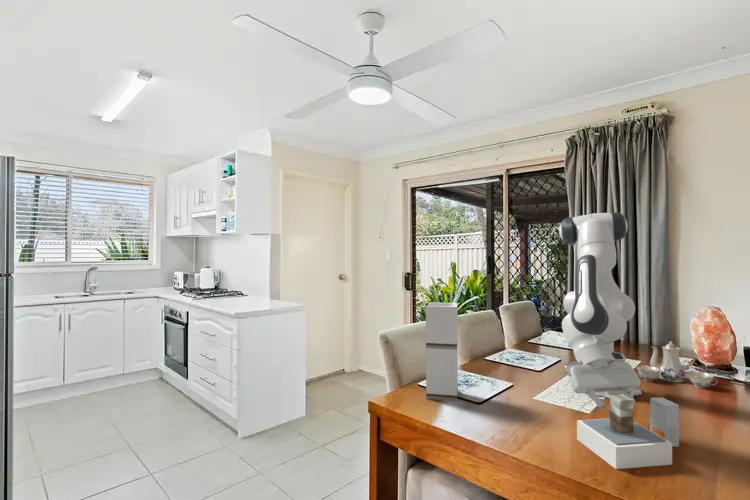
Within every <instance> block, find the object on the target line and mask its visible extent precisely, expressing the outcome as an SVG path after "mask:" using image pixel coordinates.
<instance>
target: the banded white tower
mask: <svg viewBox="0 0 750 500" xmlns="http://www.w3.org/2000/svg"><path fill="white" fill-rule="evenodd" d="M427 303H428V304H427V305H426V306H425V380H426V381H425V384H426V385H425V386H426V387H425V390H426V391H425V396H426V397H425V398H426V400H437V401H445V402H446V401H448V402H449V401H450V402H458V396H459V395H458V393H459V391H458V390H459V387H458V386H459V385H458V384H459V382H458V381H459V379H458V378H459V377H458V376H459V375H458V373H459V372H458V371H459V370H458V368H459V367H458V365H459V363H458V362H459V361H458V358H459V357H458V355H459V354H458V353H459V352H458V351H459V349H458V348H459V347H458V335H459V334H458V325H459V324H458V302H439V301H437V302H435V301H434V302H433V301H432V302H431V301H429V302H427ZM457 395H458V396H457Z"/></svg>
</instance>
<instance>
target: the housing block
mask: <svg viewBox="0 0 750 500" xmlns="http://www.w3.org/2000/svg"><path fill="white" fill-rule="evenodd" d="M634 400H635V399H634ZM634 400H633V399H631V398H629V397H627V396H625V395H610V398H609V418H610V427H611V428H612V429H614V430H616V431H617V432H619V433H634V422H635V421H634V420H635V419H634V418H635V417H634V408H635V407H634V406H635V404H634Z"/></svg>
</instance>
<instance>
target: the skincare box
mask: <svg viewBox="0 0 750 500" xmlns="http://www.w3.org/2000/svg"><path fill="white" fill-rule="evenodd" d="M649 400H650V401H649V405H650V407H649V408H650V410H649V411H650V412H649V415H650V416H649V430H650V431H651V432H653V433H655V434H657V435H659V436H660V437H662V438H664V439H666V440H667V441H669V442H671V443H672V448H674V447H675V448H676V447H677V448H678V447H680V405H679V404H678V403H675V402H673V401H671V400H668V399H666V398H664V397H650V398H649Z"/></svg>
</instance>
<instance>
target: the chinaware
mask: <svg viewBox="0 0 750 500" xmlns="http://www.w3.org/2000/svg"><path fill="white" fill-rule="evenodd" d="M651 348H652V349H653V353H652V355H651V358H650V361H649V365H646V364H645V365H644V364H643V365H636V366H635V367H634V368H633V369H634V370H635V369H636V370H637V371H638V373H636V374H637V375H638V376H639V379H641V378H643V379H642V380H643V381H646V382H654V379H656V378H657V377H658V378H659V379H661V380H663V381H665V382H670V383H683V382H684V379H685V378H686V377H687V376H688V378H689V380H690V382H691V383H692V384H693V385H694V387H695V388H698V389H706V387H707V388H709V387H710V385H711V386H717V384H718V382H719V381H718V379H717V378H716V377H715V374H708V373H707V372H704V371H694V370H690V366H692V365H694V364H695V362H696V358H695V357H696V356H695V355H694V354H693V353H692V352H691V351H689V350H682V349H681V348H679V347H678V346H677V345H676V344H674V343H673V341H668V343H667V344H666V345H663V346H661V348H662V359H661V361H660V363H658V355H659V351H658V348H657V347H656V346H654V345H651ZM684 352H685V353H688V354H690V355H691V356H692V361H691V363H688V364H685V365H684V364H683V365H682V363H681V360H680V355H685V353H684ZM714 379H715V381H716V382H715V383H713V384H712V382H713V381H712V380H714Z"/></svg>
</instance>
